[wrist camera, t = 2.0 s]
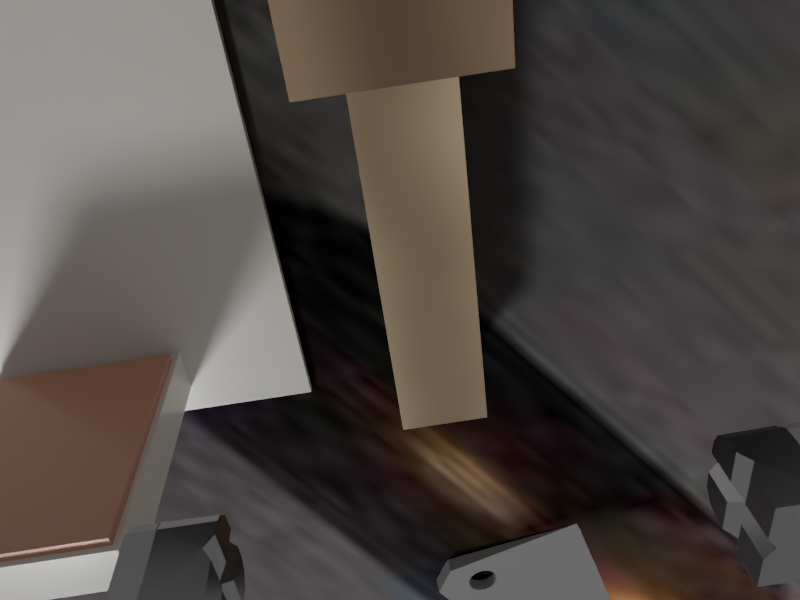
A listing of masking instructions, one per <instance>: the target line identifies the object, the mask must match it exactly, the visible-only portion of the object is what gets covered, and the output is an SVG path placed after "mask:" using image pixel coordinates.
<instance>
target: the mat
mask: <svg viewBox="0 0 800 600" xmlns="http://www.w3.org/2000/svg"><path fill="white" fill-rule="evenodd" d="M177 353H180V356H181V359H182V361H183V364H184V367H185V370H186V372H187V375H188V378H189V380H190V383H191V389H190V393H189V397H188V400H187V404H186V408H185V411H188V410H194V409H201V408H208V407H214V406H221V405H228V404H234V403H241V402H247V401H254V400H261V399H267V398H274V397H280V396H287V395H294V394H300V393H307V392H311V382H310V378H309V374H308V370H307V366H306V362H305V358H304V354H303V350H302V346H301V342H300V338H299V334H298V330H297V327H296V323H295V319H294V315H293V311H292V307H291V303H290V299H289V295H288V291H287V287H286V283H285V279H284V275H283V271H282V267H281V263H280V260H279V256H278V252H277V248H276V244H275V240H274V236H273V232H272V228H271V224H270V220H269V216H268V212H267V208H266V204H265V200H264V196H263V193H262V189H261V185H260V181H259V177H258V173H257V169H256V165H255V161H254V157H253V153H252V149H251V145H250V141H249V137H248V133H247V129H246V126H245V122H244V118H243V114H242V110H241V106H240V102H239V98H238V94H237V90H236V86H235V82H234V78H233V74H232V70H231V66H230V62H229V58H228V55H227V51H226V47H225V43H224V39H223V35H222V31H221V27H220V23H219V19H218V15H217V11H216V7H215V3H214V0H0V380H1V379H7V378H14V377H20V376H27V375H34V374H40V373H47V372H53V371H60V370H67V369H73V368H80V367H86V366H93V365H100V364H106V363H113V362H119V361H126V360H133V359H139V358H146V357H152V356H159V355H166V354H177Z"/></svg>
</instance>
